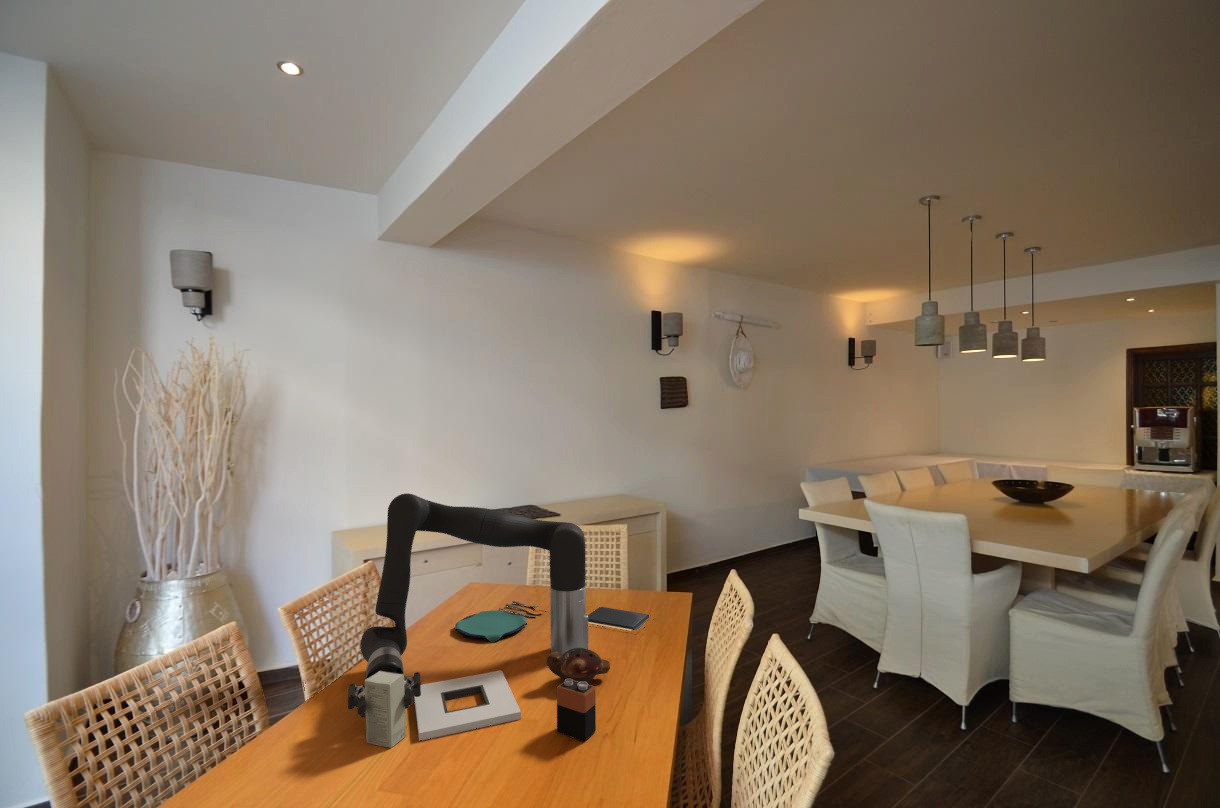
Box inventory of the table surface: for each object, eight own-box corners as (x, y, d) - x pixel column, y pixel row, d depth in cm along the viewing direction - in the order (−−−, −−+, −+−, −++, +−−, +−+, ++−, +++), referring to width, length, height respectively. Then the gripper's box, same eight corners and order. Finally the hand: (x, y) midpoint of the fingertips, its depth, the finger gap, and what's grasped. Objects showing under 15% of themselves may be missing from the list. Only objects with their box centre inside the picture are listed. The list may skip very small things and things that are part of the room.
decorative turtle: (540, 680, 133) (542, 645, 134) (600, 673, 139) (601, 639, 140) (552, 697, 124) (553, 660, 125) (615, 689, 130) (616, 653, 131)
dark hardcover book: (656, 613, 172) (635, 631, 159) (656, 619, 172) (635, 637, 159) (599, 603, 182) (574, 619, 168) (599, 609, 182) (574, 625, 168)
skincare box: (406, 736, 111) (406, 674, 111) (390, 749, 106) (390, 684, 107) (380, 730, 113) (380, 669, 113) (364, 743, 109) (363, 679, 109)
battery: (584, 743, 108) (584, 690, 108) (555, 732, 112) (555, 682, 112) (596, 732, 112) (596, 681, 112) (568, 722, 115) (568, 673, 115)
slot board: (501, 676, 135) (501, 670, 135) (520, 718, 117) (520, 711, 117) (413, 693, 128) (413, 686, 128) (418, 741, 109) (418, 733, 109)
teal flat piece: (441, 633, 162) (441, 625, 162) (510, 604, 187) (510, 597, 187) (494, 649, 152) (494, 640, 152) (559, 615, 177) (559, 608, 177)
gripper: (348, 659, 120) (343, 695, 105) (419, 648, 126) (424, 681, 110) (348, 694, 120) (344, 736, 105) (419, 681, 126) (425, 719, 110)
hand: (385, 707), depth 108 cm, fingers closed on skincare box, 7 cm apart
